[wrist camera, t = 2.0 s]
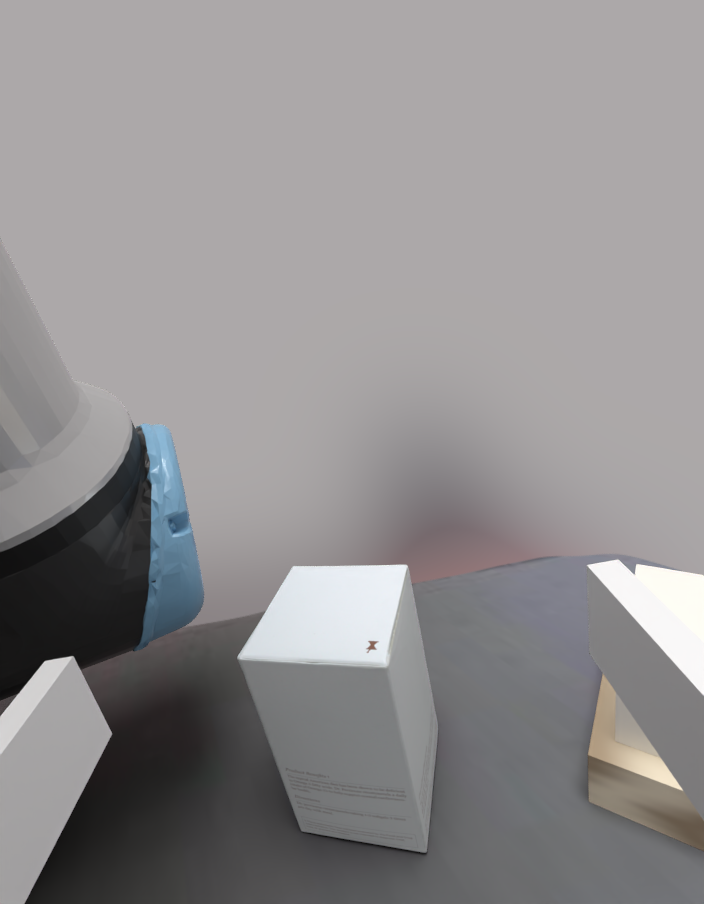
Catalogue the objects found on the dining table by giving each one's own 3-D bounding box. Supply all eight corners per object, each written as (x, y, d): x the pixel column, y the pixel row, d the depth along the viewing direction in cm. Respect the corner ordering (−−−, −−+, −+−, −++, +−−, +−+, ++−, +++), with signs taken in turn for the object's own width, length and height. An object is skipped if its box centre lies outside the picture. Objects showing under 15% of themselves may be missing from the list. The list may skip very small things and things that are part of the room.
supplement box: (441, 725, 30) (413, 561, 25) (428, 859, 23) (388, 668, 19) (334, 714, 32) (292, 561, 28) (294, 833, 25) (231, 657, 21)
